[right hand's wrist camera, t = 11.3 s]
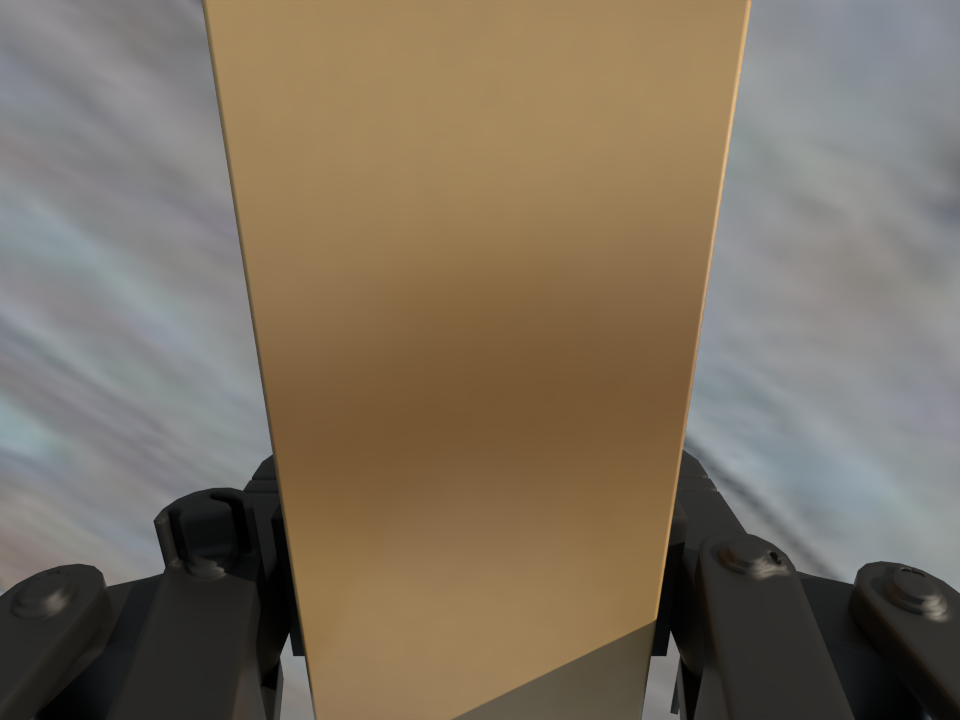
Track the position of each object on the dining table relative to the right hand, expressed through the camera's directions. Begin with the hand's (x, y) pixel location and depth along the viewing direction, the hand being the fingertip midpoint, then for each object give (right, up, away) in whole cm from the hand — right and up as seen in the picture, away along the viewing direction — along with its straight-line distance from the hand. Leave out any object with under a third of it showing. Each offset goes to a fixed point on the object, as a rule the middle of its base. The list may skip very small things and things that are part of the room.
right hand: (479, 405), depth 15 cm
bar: (0, +8, -2) cm, 8 cm away
